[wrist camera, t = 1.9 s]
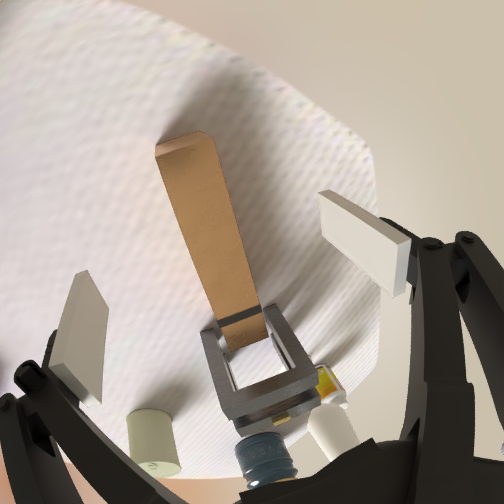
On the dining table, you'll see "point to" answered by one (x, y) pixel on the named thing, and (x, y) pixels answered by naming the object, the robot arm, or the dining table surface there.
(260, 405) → the collar
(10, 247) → the dining table surface
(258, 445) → the canister
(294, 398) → the collar
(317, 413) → the champagne flute
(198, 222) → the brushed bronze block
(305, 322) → the dining table surface
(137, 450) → the can
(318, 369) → the supplement bottle
